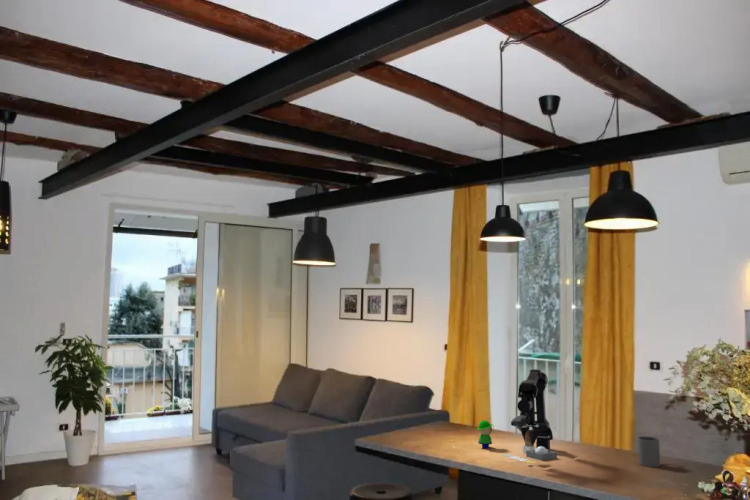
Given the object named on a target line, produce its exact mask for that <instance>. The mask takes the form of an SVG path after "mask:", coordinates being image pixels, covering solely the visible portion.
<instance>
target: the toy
mask: <svg viewBox="0 0 750 500" xmlns="http://www.w3.org/2000/svg"><path fill="white" fill-rule="evenodd" d="M492 427H493V428H492ZM494 428H495V427H494V424H491V423H490V422H489V421H488V420H481V421H480V422H479V424H478V427H477V428H476V430H479V432H480V435H479V438H478V442H477V443H478V444H480V445H481V448H482V449H484V450H488V449H489V448H490V445H492V444H493V441H492V437H491V433H492V432H494Z"/></svg>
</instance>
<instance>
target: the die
mask: <svg viewBox="0 0 750 500" xmlns="http://www.w3.org/2000/svg"><path fill="white" fill-rule="evenodd" d="M528 450H535V445H534V446H533V447H528V446H525V444H523V445H522V453H523V454H525V455H526V451H528Z"/></svg>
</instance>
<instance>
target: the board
mask: <svg viewBox="0 0 750 500" xmlns="http://www.w3.org/2000/svg"><path fill="white" fill-rule="evenodd" d="M501 456H502V457H505V458H510V459H513V460H517V461H521V462H524V463H527V464H535V463H537V462H536V461H533V460H529V459H528V458H527V459H526V458H522V457H519V456H515V455H512V454H508V453H506V454H502V455H501ZM529 467H535V465H528V468H529Z"/></svg>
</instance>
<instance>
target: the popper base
mask: <svg viewBox="0 0 750 500" xmlns="http://www.w3.org/2000/svg"><path fill="white" fill-rule="evenodd" d="M557 455H558V452H557V451H553V450H550V449H549V450H548V453H543V454H541V453H537V452H535V449H534V450H528V451H526V454H525V456H526V457H527V458H530V459H534V460H537V461H541V462H542V461H548V460H554V459H555V460H556V459H558V456H557Z"/></svg>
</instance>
